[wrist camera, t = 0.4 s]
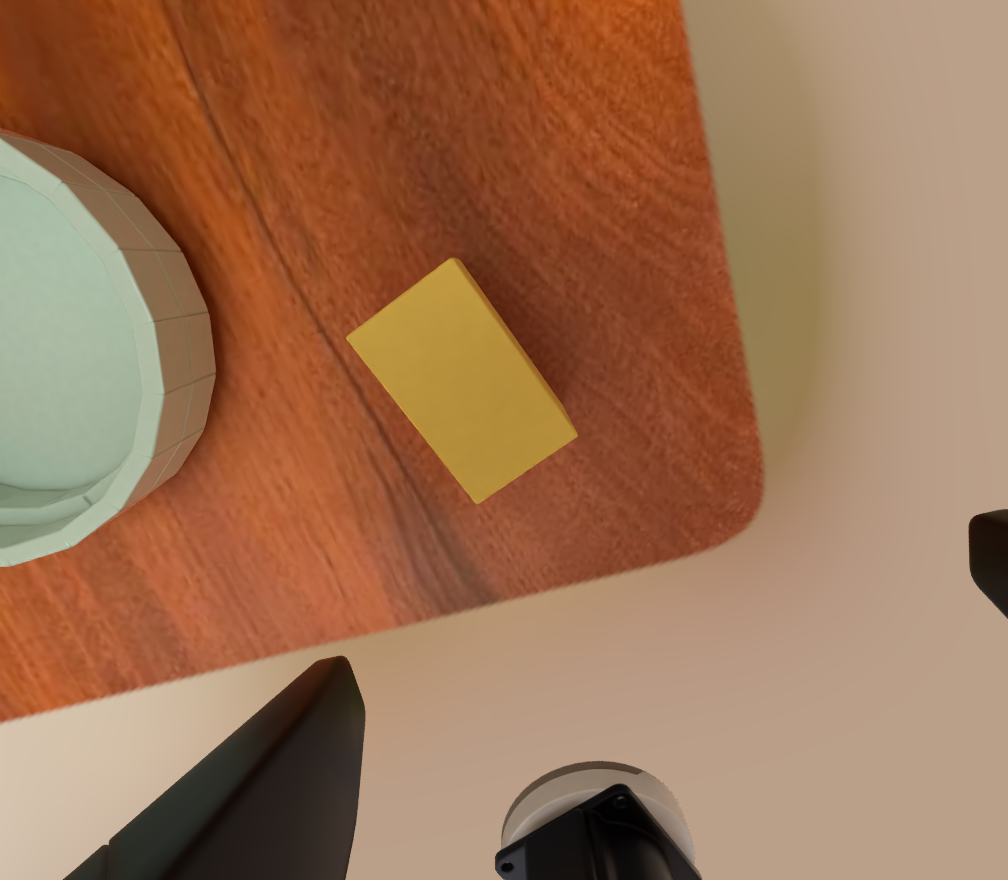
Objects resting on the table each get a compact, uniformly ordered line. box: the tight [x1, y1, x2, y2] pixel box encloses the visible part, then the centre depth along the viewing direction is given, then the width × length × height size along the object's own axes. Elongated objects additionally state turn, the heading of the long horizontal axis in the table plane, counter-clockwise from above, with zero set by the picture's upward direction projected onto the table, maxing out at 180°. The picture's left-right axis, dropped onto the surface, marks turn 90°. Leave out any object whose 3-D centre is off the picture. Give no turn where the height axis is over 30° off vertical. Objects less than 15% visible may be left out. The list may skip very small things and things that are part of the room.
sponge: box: [346, 258, 578, 504], centre depth 19 cm, size 6×4×4 cm, turn 36°
